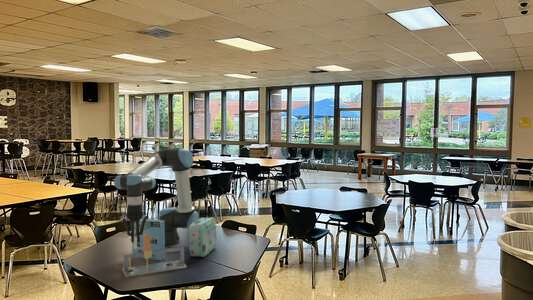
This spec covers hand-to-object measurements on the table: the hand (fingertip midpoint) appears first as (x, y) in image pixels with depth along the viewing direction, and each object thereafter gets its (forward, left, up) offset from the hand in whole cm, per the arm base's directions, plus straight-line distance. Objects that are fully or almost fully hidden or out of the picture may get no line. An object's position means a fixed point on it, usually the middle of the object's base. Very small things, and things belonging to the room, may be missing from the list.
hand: (135, 248), depth 213 cm
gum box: (-21, +11, -13) cm, 27 cm away
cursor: (0, +6, -11) cm, 13 cm away
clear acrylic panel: (0, +10, -12) cm, 15 cm away
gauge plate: (0, +10, -13) cm, 16 cm away
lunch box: (-16, +43, -13) cm, 48 cm away
